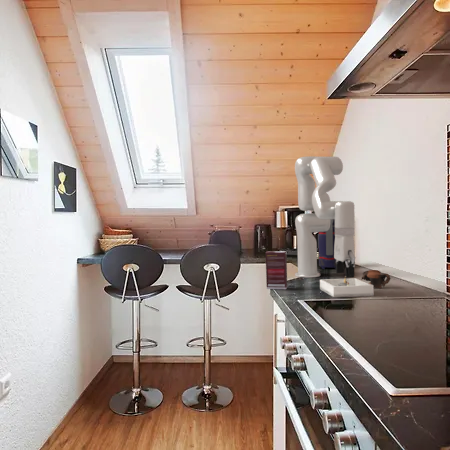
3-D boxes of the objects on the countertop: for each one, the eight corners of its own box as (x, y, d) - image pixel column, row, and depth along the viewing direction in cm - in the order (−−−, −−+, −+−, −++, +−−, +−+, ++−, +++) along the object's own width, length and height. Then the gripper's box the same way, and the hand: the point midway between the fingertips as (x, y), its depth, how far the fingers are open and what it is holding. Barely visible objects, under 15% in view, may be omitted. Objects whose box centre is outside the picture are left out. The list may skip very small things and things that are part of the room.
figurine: (335, 288, 151) (337, 274, 150) (342, 287, 154) (344, 273, 153) (345, 292, 147) (347, 277, 146) (353, 291, 149) (355, 277, 148)
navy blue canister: (319, 266, 223) (318, 215, 222) (339, 266, 220) (339, 215, 219) (318, 269, 210) (317, 216, 209) (341, 270, 207) (340, 215, 206)
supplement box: (287, 287, 162) (286, 250, 161) (286, 289, 157) (285, 252, 157) (267, 286, 164) (267, 250, 164) (265, 289, 160) (265, 252, 159)
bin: (320, 289, 157) (319, 279, 157) (356, 287, 158) (355, 278, 158) (333, 297, 141) (333, 286, 141) (373, 295, 143) (373, 285, 142)
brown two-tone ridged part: (359, 289, 158) (357, 270, 162) (367, 295, 164) (365, 277, 168) (389, 284, 151) (386, 265, 155) (396, 291, 157) (393, 272, 161)
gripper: (327, 231, 157) (328, 271, 158) (344, 234, 140) (344, 279, 141) (345, 230, 158) (345, 271, 159) (363, 233, 141) (363, 278, 142)
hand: (344, 274), depth 150 cm, fingers open, 9 cm apart
